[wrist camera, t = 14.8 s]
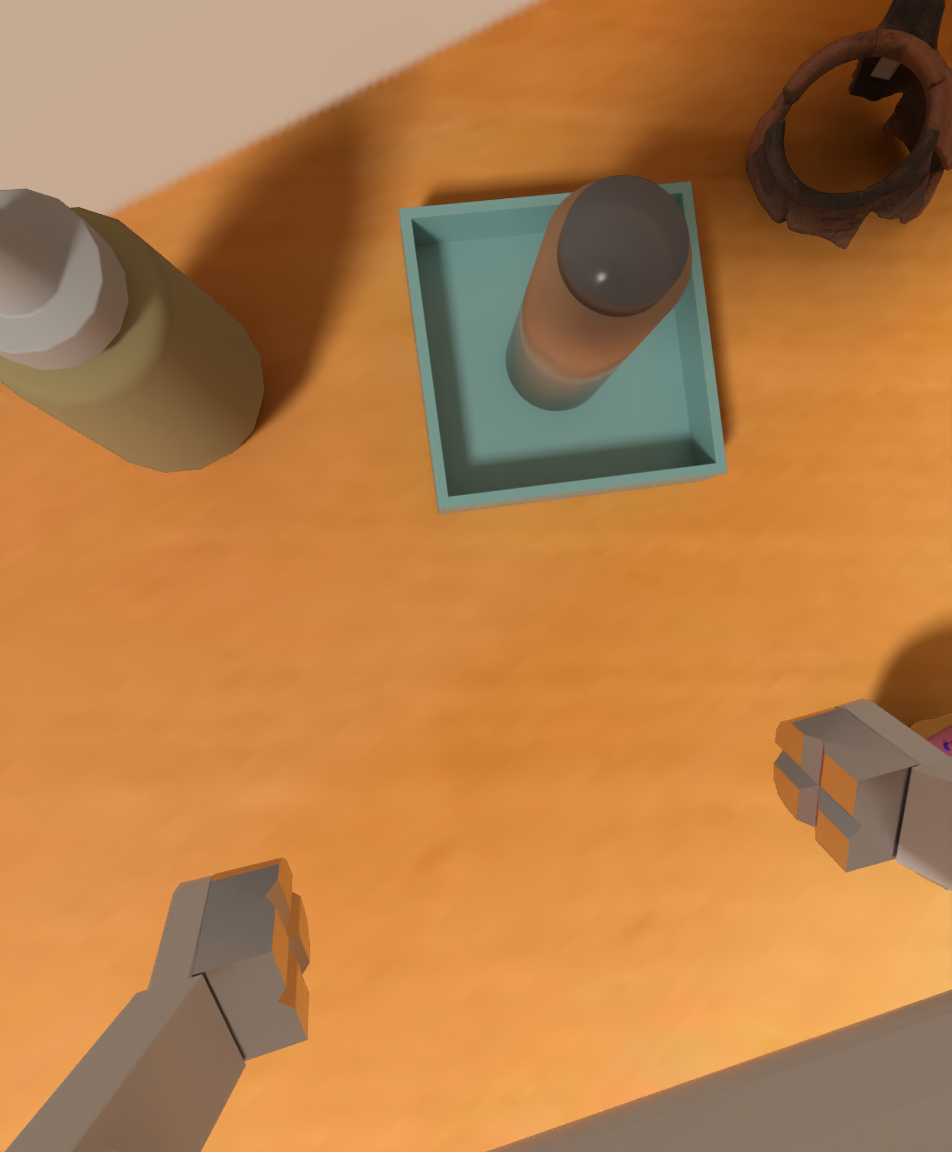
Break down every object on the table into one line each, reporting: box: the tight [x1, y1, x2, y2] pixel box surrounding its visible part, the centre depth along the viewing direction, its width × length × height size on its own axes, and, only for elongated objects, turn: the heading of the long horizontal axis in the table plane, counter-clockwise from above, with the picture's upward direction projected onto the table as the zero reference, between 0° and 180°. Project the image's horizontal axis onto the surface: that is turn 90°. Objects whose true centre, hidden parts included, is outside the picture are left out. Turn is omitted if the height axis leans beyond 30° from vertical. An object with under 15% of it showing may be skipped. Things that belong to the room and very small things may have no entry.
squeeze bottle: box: [0, 189, 265, 473], centre depth 23 cm, size 8×8×18 cm
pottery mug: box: [746, 0, 952, 249], centre depth 32 cm, size 12×10×8 cm
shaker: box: [505, 175, 692, 411], centre depth 27 cm, size 5×5×12 cm
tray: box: [399, 181, 727, 514], centre depth 32 cm, size 14×14×3 cm
